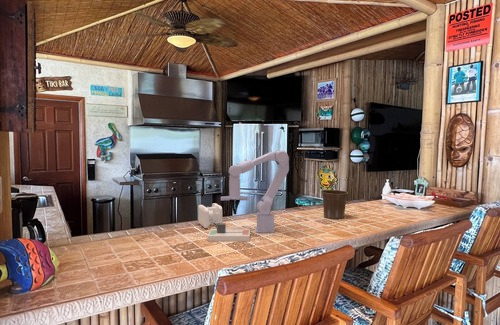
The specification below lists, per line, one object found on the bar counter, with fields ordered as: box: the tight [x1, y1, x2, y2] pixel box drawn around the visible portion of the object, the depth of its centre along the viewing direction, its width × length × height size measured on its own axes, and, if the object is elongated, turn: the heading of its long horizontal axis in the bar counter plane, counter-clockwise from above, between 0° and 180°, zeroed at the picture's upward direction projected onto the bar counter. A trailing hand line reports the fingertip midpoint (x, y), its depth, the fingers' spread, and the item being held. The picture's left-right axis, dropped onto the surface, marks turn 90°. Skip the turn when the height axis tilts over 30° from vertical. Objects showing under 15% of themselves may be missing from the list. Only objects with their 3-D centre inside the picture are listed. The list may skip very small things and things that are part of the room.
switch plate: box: [207, 228, 251, 242], centre depth 156 cm, size 20×12×2 cm, turn 89°
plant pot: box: [321, 189, 349, 220], centre depth 197 cm, size 16×16×16 cm
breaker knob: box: [216, 222, 227, 233], centre depth 156 cm, size 4×3×4 cm
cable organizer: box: [197, 202, 223, 229], centre depth 178 cm, size 15×11×12 cm
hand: (234, 214), depth 165 cm, fingers closed
